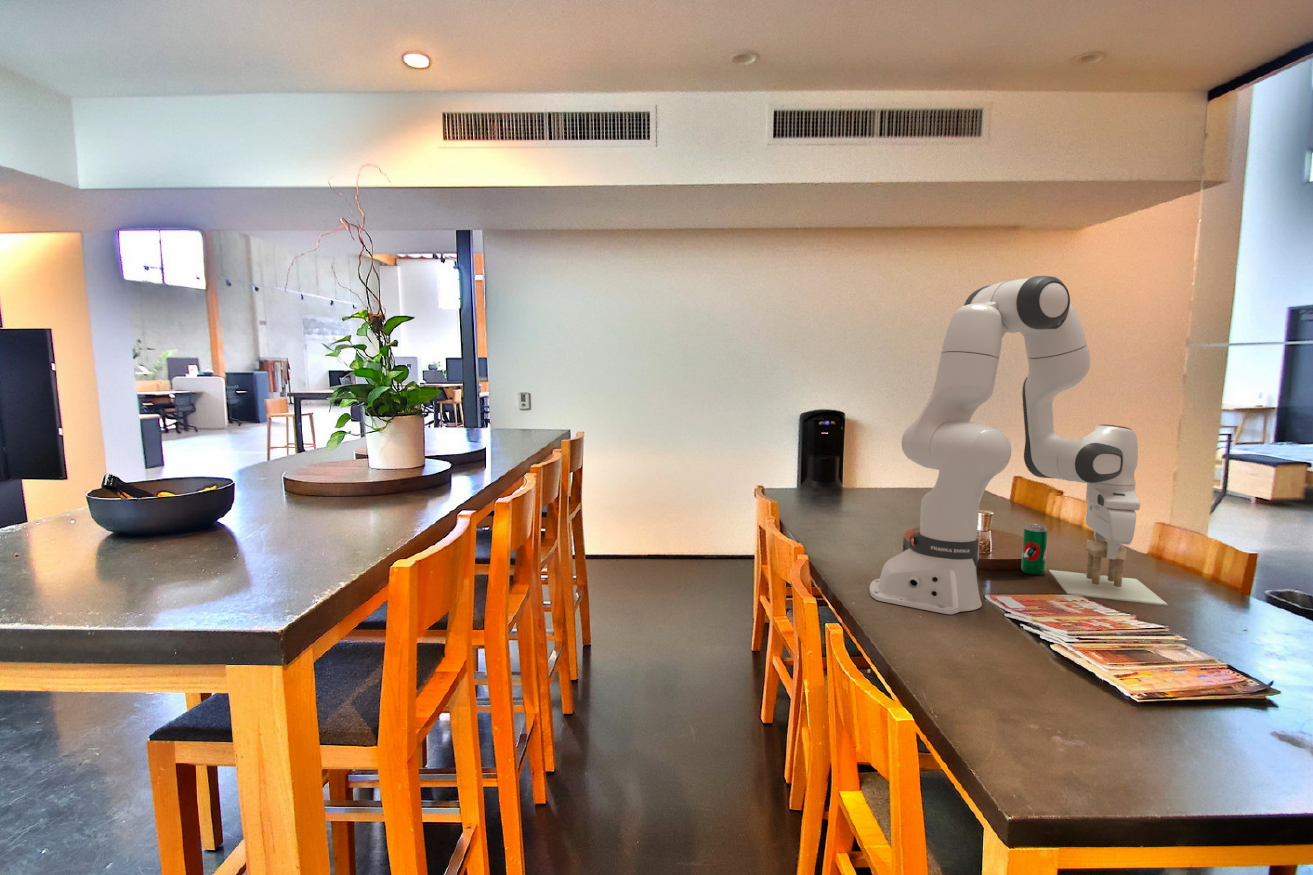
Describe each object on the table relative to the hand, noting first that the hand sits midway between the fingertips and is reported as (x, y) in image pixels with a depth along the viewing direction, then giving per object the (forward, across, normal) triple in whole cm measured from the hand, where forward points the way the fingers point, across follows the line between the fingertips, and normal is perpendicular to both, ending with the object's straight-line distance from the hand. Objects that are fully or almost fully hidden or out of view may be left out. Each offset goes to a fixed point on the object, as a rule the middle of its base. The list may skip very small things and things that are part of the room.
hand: (1105, 554), depth 138 cm
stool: (+7, 0, 0) cm, 7 cm away
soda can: (+8, -6, -13) cm, 16 cm away
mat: (+8, 0, 0) cm, 8 cm away
